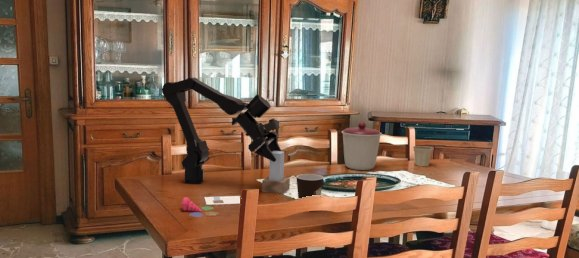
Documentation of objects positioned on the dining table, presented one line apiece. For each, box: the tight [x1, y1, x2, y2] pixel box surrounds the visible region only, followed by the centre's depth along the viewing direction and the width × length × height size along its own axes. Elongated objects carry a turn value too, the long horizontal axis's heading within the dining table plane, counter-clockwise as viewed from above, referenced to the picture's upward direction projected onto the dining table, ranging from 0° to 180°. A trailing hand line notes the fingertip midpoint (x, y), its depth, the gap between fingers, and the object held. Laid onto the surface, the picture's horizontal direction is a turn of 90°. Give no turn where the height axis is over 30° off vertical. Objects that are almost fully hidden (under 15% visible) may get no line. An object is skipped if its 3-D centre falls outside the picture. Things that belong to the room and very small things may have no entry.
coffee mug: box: [296, 173, 325, 199], centre depth 159 cm, size 12×9×10 cm
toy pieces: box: [180, 196, 220, 218], centre depth 151 cm, size 12×11×4 cm
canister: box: [341, 121, 383, 171], centre depth 223 cm, size 18×18×21 cm
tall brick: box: [268, 150, 285, 181], centre depth 179 cm, size 4×5×10 cm
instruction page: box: [204, 195, 241, 206], centre depth 164 cm, size 12×9×1 cm
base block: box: [261, 176, 291, 195], centre depth 180 cm, size 8×8×4 cm
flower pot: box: [412, 145, 434, 167], centre depth 235 cm, size 9×9×9 cm
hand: (279, 158), depth 178 cm, fingers open, 9 cm apart
